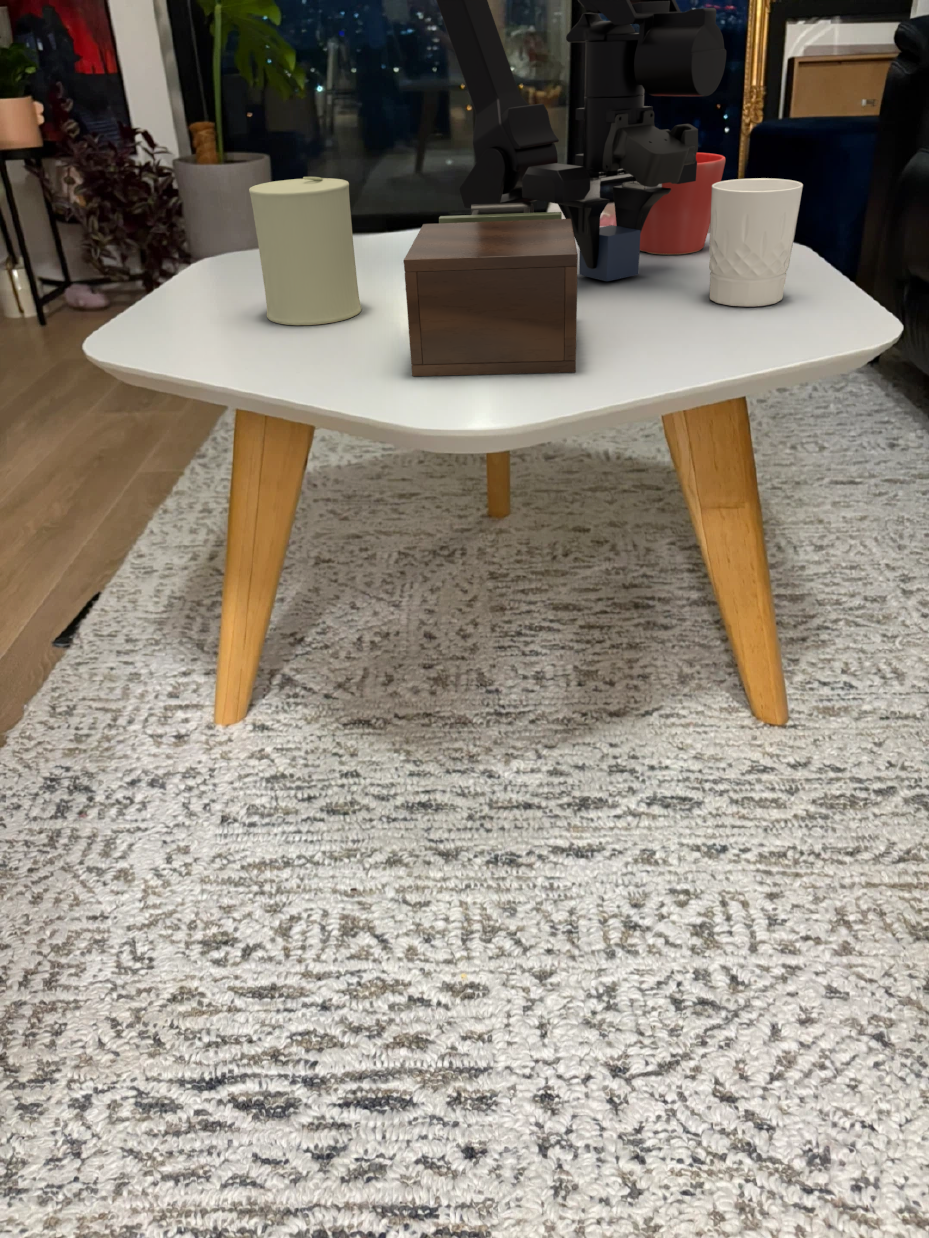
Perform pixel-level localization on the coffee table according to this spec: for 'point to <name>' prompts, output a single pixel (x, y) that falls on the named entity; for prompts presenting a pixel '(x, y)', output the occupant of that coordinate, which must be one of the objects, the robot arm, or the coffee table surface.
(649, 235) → the flower pot
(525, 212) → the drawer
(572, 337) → the cabinet
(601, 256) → the block
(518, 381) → the coffee table surface
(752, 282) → the white cup
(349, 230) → the can
